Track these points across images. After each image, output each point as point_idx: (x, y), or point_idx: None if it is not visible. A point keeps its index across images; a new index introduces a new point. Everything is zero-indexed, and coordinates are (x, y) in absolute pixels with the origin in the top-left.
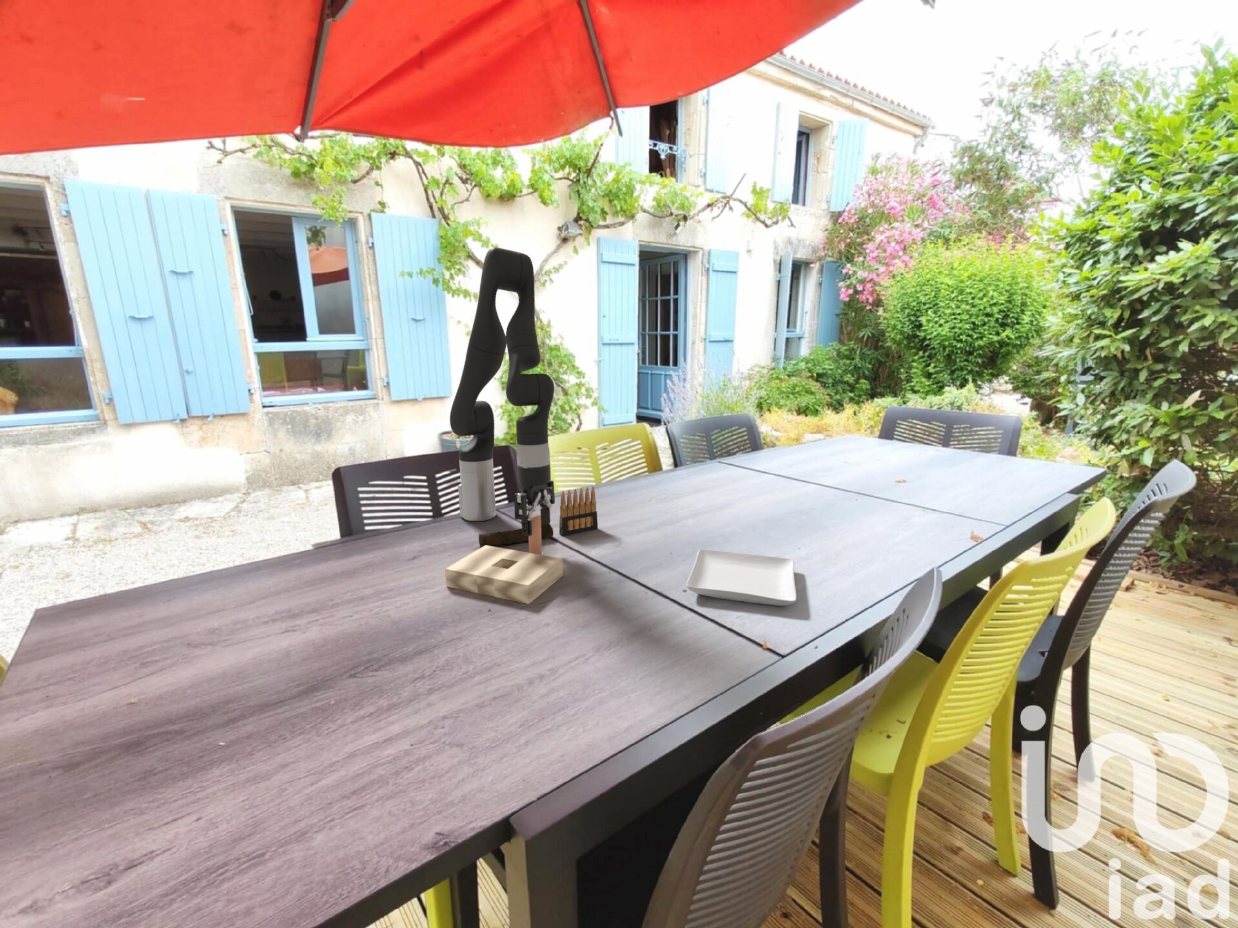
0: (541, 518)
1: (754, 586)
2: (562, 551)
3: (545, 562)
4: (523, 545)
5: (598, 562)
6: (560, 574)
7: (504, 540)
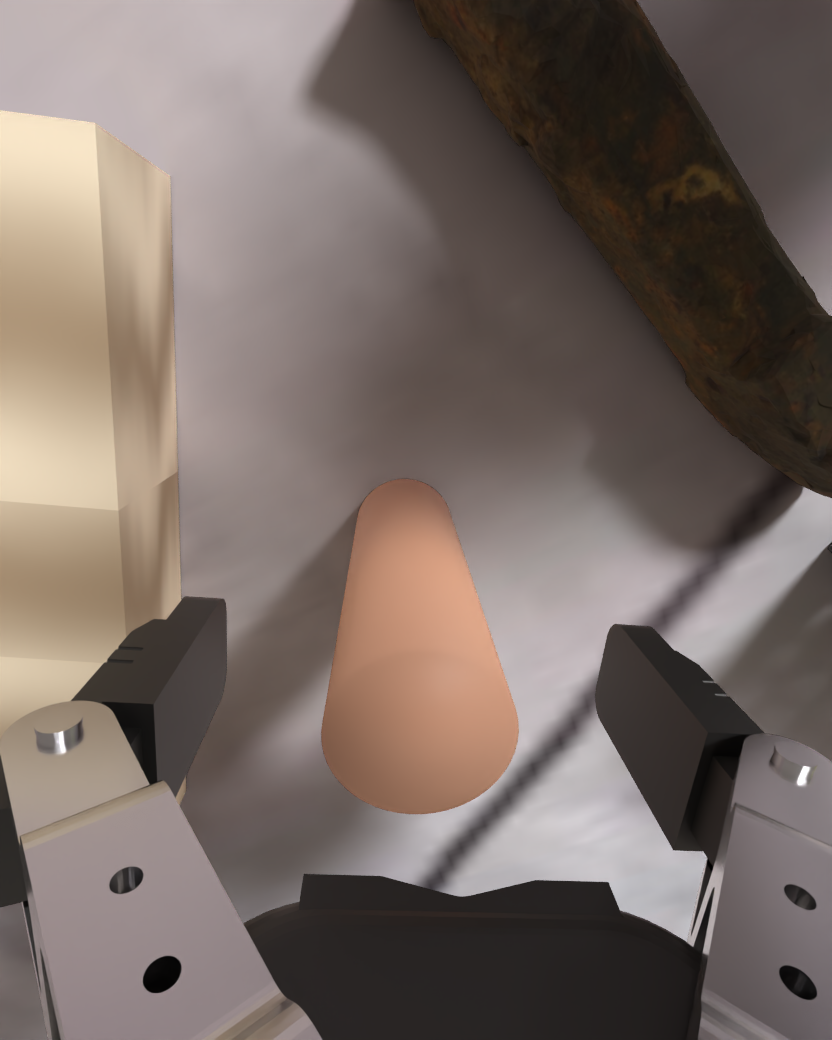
0: (638, 655)
1: None
2: (536, 657)
3: None
4: (589, 331)
5: (428, 885)
6: None
7: (535, 155)
